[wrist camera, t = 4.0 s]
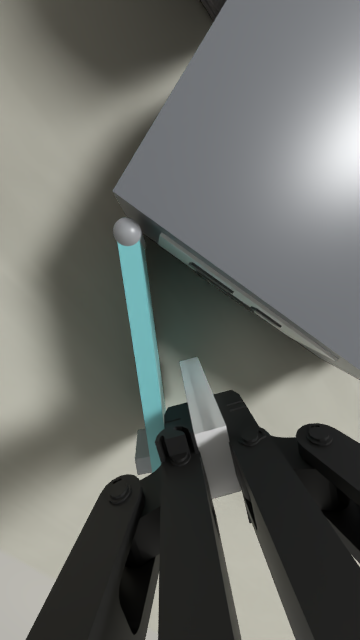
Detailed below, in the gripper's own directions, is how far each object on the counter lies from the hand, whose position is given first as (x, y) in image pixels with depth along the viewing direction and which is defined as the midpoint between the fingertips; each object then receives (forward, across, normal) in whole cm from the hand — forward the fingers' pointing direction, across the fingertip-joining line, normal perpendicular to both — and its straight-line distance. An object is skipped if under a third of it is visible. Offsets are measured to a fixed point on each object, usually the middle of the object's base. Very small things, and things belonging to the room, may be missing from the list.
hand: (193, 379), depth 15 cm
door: (+2, -2, +3) cm, 4 cm away
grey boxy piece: (+3, +8, +6) cm, 11 cm away
